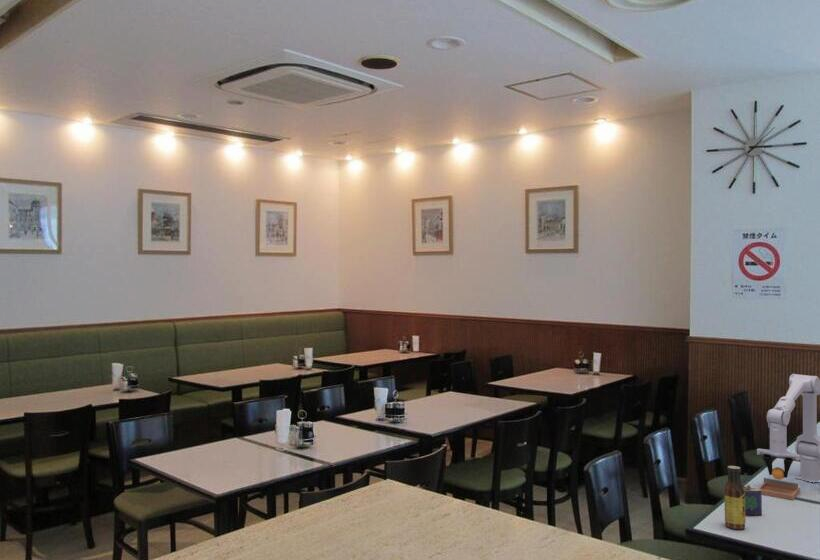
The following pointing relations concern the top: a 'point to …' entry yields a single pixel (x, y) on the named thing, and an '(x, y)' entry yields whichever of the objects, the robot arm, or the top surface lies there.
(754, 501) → the flask
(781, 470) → the ball
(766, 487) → the tray
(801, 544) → the top surface
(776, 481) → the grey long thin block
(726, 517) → the sauce bottle
